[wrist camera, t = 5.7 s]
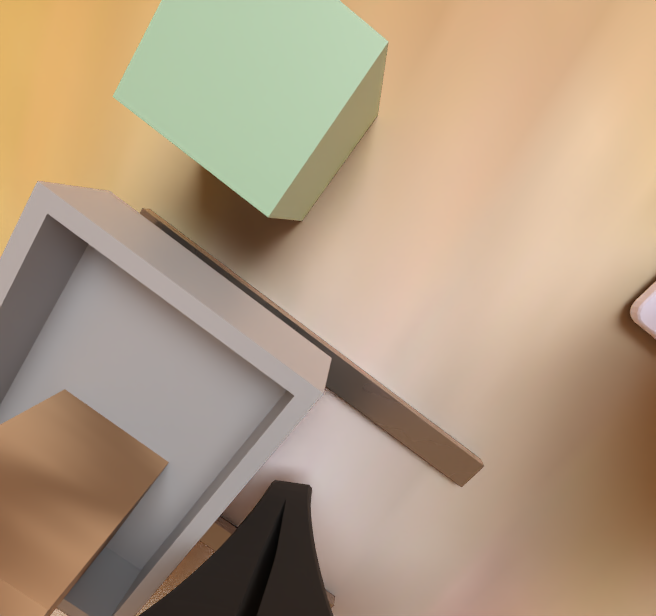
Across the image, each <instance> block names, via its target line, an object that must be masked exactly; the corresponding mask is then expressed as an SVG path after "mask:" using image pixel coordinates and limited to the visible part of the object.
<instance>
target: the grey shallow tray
mask: <svg viewBox="0 0 656 616" xmlns="http://www.w3.org/2000/svg"><path fill="white" fill-rule="evenodd" d="M331 359H332V358H331V357H330V356H328V355H327V354H326V353H324V352H323V351H322V350H320V349H319V348H318V347H316V346H315V345H314V344H312V343H311V342H310V341H308V340H307V339H306V338H304V337H303V336H302V335H300V334H299V333H298V332H296V331H295V330H294V329H292V328H291V327H290V326H288V325H287V324H286V323H284V322H283V321H282V320H280V319H279V318H278V317H276V316H275V315H274V314H272V313H271V312H270V311H268V310H267V309H266V308H265V307H263V306H262V305H261V304H259V303H258V302H257V301H255V300H254V299H253V298H251V297H250V296H249V295H247V294H246V293H245V292H243V291H242V290H241V289H239V288H238V287H237V286H235V285H234V284H233V283H231V282H230V281H229V280H227V279H226V278H225V277H223V276H222V275H221V274H219V273H218V272H217V271H215V270H214V269H213V268H211V267H210V266H209V265H207V264H206V263H205V262H203V261H202V260H201V259H199V258H198V257H197V256H195V255H194V254H193V253H191V252H190V251H189V250H187V249H186V248H185V247H183V246H182V245H181V244H179V243H178V242H177V241H176V240H174V239H173V238H172V237H170V236H169V235H168V234H166V233H165V232H164V231H162V230H161V229H160V228H158V227H157V226H156V225H154V224H153V223H152V222H150V221H149V220H148V219H146V218H145V217H144V216H142V215H141V214H140V213H138V212H137V211H136V210H134V209H133V208H132V207H130V206H129V205H128V204H126V203H125V202H124V201H122V200H121V199H120V198H118V197H117V196H116V195H114V194H113V193H112V192H110V191H106V190H99V189H92V188H85V187H78V186H71V185H64V184H57V183H50V182H43V181H37V183H36V185H35V187H34V189H33V192H32V194H31V196H30V198H29V200H28V202H27V204H26V206H25V208H24V210H23V212H22V214H21V217H20V219H19V221H18V223H17V225H16V227H15V229H14V231H13V233H12V235H11V237H10V239H9V241H8V244H7V246H6V248H5V250H4V252H3V254H2V256H1V258H0V424H2V423H4V422H6V421H8V420H9V419H11V418H13V417H15V416H17V415H19V414H20V413H22V412H24V411H26V410H28V409H30V408H31V407H33V406H35V405H37V404H39V403H40V402H42V401H44V400H46V399H48V398H50V397H51V396H53V395H55V394H57V393H59V392H61V391H62V390H64V389H65V390H67V391H68V392H70V393H71V394H72V395H74V396H75V397H77V398H78V399H80V400H81V401H82V402H84V403H85V404H87V405H88V406H90V407H91V408H92V409H94V410H95V411H97V412H98V413H100V414H101V415H102V416H104V417H105V418H107V419H108V420H109V421H111V422H112V423H114V424H115V425H117V426H118V427H119V428H121V429H122V430H124V431H125V432H127V433H128V434H129V435H131V436H132V437H134V438H135V439H137V440H138V441H139V442H141V443H142V444H144V445H145V446H147V447H148V448H149V449H151V450H152V451H154V452H155V453H156V454H158V455H159V456H161V457H162V458H164V459H165V460H166V461H168V462H169V463H168V464H167V466H166V467H165V468H164V470H163V471H162V472H161V474H160V475H159V476H158V478H157V479H156V480H155V482H154V483H153V484H152V486H151V487H150V488H149V490H148V491H147V492H146V494H145V495H144V496H143V498H142V499H141V500H140V502H139V503H138V504H137V506H136V507H135V508H134V510H133V511H132V512H131V514H130V515H129V516H128V518H127V519H126V520H125V522H124V523H123V524H122V526H121V527H120V528H119V530H118V531H117V532H116V534H115V535H114V536H113V538H112V539H111V540H110V541H109V543H108V544H107V545H106V546H105V548H104V549H103V550H102V551H101V553H100V554H99V555H98V556H97V558H96V559H95V560H94V561H93V563H92V564H91V565H90V566H89V568H88V569H87V570H86V571H85V573H84V574H83V575H82V576H81V578H80V579H79V580H78V581H77V583H76V584H75V585H74V586H73V588H72V589H71V590H70V591H69V593H68V594H67V595H66V596H65V598H64V599H63V600H62V601H61V603H60V604H59V605H58V606H57V609H59V610H60V611H62V612H64V613H65V614H67V615H68V616H135V615H136V614H137V613H138V612H139V610H140V609H141V608H142V607H143V606H144V605H145V603H146V602H147V601H148V600H149V599H150V597H151V596H152V595H153V594H154V593H155V592H156V590H157V589H158V588H159V587H160V586H161V585H162V583H163V582H164V581H165V580H166V579H167V577H168V576H169V575H170V574H171V573H172V572H173V570H174V569H175V568H176V567H177V566H178V564H179V563H180V562H181V561H182V560H183V559H184V557H185V556H186V555H187V554H188V553H189V552H190V550H191V549H192V548H193V547H194V546H195V544H196V543H197V542H198V541H199V540H200V539H201V537H202V536H203V535H204V534H205V533H206V531H207V530H208V529H209V528H210V527H211V526H212V524H213V523H214V522H215V521H216V520H217V519H218V517H219V516H220V515H221V514H222V513H223V511H224V510H225V509H226V508H227V507H228V506H229V504H230V503H231V502H232V501H233V500H234V498H235V497H236V496H237V495H238V494H239V493H240V491H241V490H242V489H243V488H244V487H245V486H246V484H247V483H248V482H249V481H250V480H251V478H252V477H253V476H254V475H255V474H256V473H257V471H258V470H259V469H260V468H261V467H262V465H263V464H264V463H265V462H266V461H267V460H268V458H269V457H270V456H271V455H272V454H273V452H274V451H275V450H276V449H277V448H278V447H279V445H280V444H281V443H282V442H283V441H284V440H285V438H286V437H287V436H288V435H289V434H290V432H291V431H292V430H293V429H294V428H295V427H296V425H297V424H298V423H299V422H300V421H301V419H302V418H303V417H304V416H305V415H306V414H307V412H308V411H309V410H310V409H311V408H312V407H313V405H314V404H315V403H316V402H317V401H318V399H319V398H320V397H321V396H322V395H323V394H324V390H325V385H326V381H327V377H328V372H329V368H330V363H331Z"/></svg>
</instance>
